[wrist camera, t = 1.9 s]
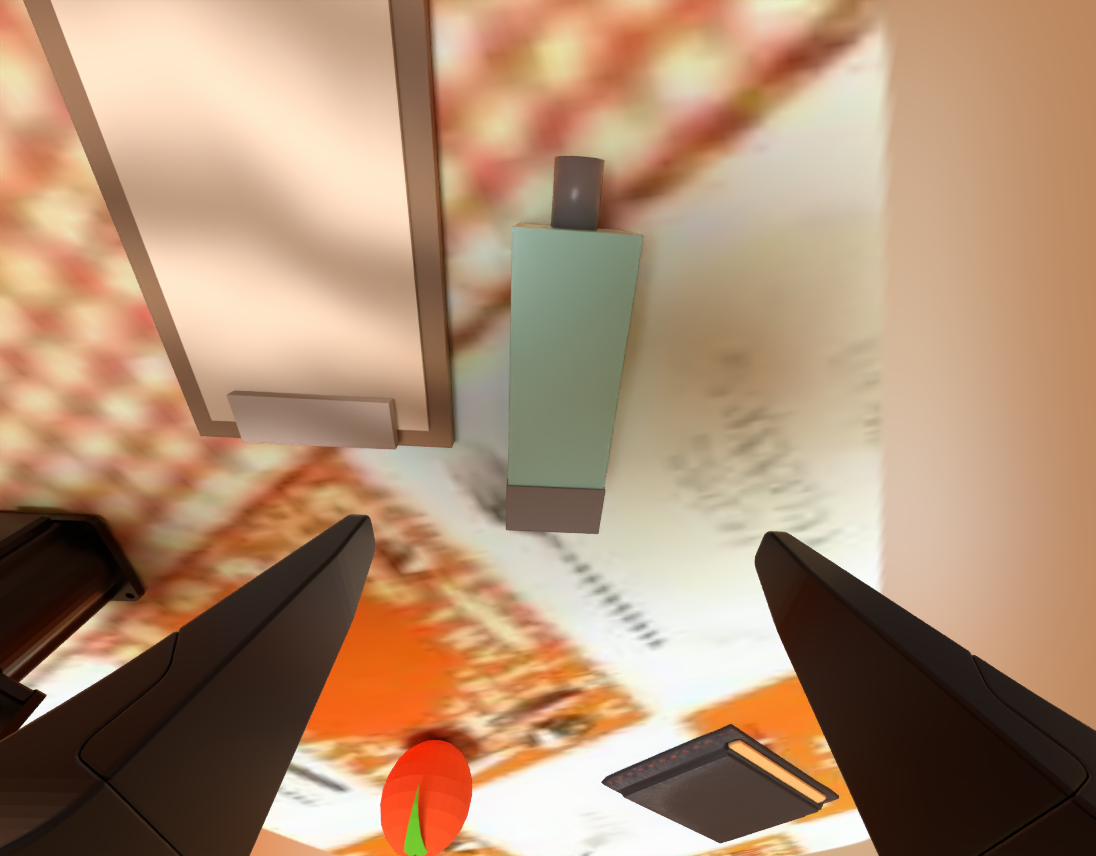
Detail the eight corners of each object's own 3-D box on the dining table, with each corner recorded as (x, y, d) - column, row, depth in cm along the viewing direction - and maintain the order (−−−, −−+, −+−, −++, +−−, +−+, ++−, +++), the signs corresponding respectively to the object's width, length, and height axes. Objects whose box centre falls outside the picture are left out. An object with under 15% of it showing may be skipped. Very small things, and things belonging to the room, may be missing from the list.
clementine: (390, 714, 32) (352, 835, 26) (476, 716, 33) (459, 836, 26) (402, 762, 36) (372, 877, 30) (479, 763, 36) (466, 878, 30)
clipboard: (454, 441, 20) (449, 455, 19) (209, 429, 20) (189, 443, 19) (422, -93, 12) (409, -127, 10) (-11, -133, 11) (-74, -173, 10)
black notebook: (597, 796, 37) (744, 738, 32) (595, 771, 39) (734, 712, 34) (714, 854, 44) (849, 814, 39) (708, 830, 46) (837, 789, 41)
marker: (589, 479, 21) (598, 533, 18) (512, 476, 21) (506, 530, 18) (630, 169, 15) (658, 156, 11) (519, 161, 15) (511, 145, 11)
